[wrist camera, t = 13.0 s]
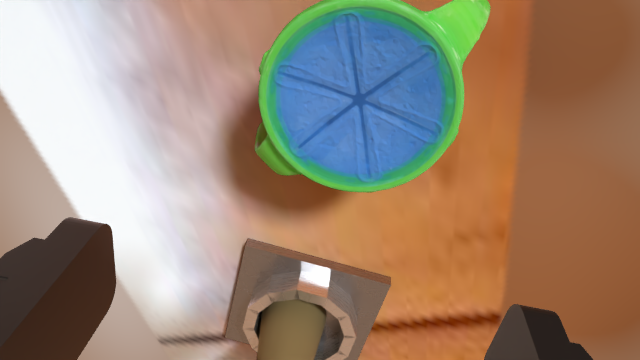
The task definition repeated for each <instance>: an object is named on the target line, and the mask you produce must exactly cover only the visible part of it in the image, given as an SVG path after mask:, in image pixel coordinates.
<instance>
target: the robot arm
mask: <svg viewBox="0 0 640 360" xmlns="http://www.w3.org/2000/svg"><path fill="white" fill-rule="evenodd" d="M115 287H116V275H115V262H114V249H113V237H112V230H111V227H110V226H109V225H107V224H103V223H98V222H92V221H87V220H82V219H77V218H71V217H70V218H67V219H65V220H63V221H62V222H61V223H60V224H59V225H58V226H57V227H56V229H55V230H54V231H53V232H52V233H51V234H50V235H49V236H48V237H47V238H46V239H45V240H43V239H38V238H33V239H31V240H29V241H27V242H25V243H24V244H22V245H20V246H18V247H16V248H14V249H12V250H11V251H9V252H7V253H5V254H4V255H3V256H2V257H1V258H0V360H77V359H78V357H79V355H80V354H81V352H82V351H83V349H84V348H85V346H86V345H87V343H88V341H89V340H90V338H91V337H92V335H93V334H94V332H95V331H96V329H97V327H98V326H99V324H100V323H101V321H102V320H103V318H104V316H105V315H106V313H107V312H108V310H109V308H110V305H111V303H112V300H113V297H114V293H115ZM484 360H593V359H592V358H591V356H590V355H589V354H588V353H587V352H586V351H585V349H584V348H583V347H582V346H581V345H580V344H576V343H571V342H570V341H569V339H568V337H567V334H566V332H565V330H564V327H563V325H562V322H561V320H560V318H559V316H558V315H557V314H556V313H555V312H553V311H549V310H544V309H539V308H533V307H528V306H523V305H518V304H514V305H512V306H511V307H510V308H509V309H508V311H507V313H506V315H505V317H504V319H503V321H502V323H501V325H500V327H499V329H498V331H497V333H496V335H495V337H494V339H493V341H492V343H491V345H490V347H489V349H488V350H487V353H486V355H485V358H484Z"/></svg>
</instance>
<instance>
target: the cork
mask: <svg viewBox="0 0 640 360" xmlns="http://www.w3.org/2000/svg"><path fill="white" fill-rule="evenodd" d="M326 316H327V315H326V312H325V308H323V307H322V306H321V305H317V304H314V303H310V302H306V301H303V300H299V299H293V300H285V301H278V302H273V303H272V304H270V305H269V306H268V307H266V308H265V309H263V310H262V317H261V325H260V334H259V343H258V351H257V360H314V358H315V355H316V352H317V349H318V345H319V342H320V339H321V336H322V333H323V330H324V327H325V323H326Z"/></svg>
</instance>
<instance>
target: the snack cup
mask: <svg viewBox="0 0 640 360" xmlns="http://www.w3.org/2000/svg"><path fill="white" fill-rule="evenodd" d="M490 8H491V7H490V4H489V2H488V1H487V0H453V1H451V2H449V3H447V4H445V5H443V6H441V7H439V8H436V9H434V10H432V11H429V12H425V11H421V10H418V9H417V8H415V7H413V6H411V5H409V4H407V3H405V2H403V1H400V0H323V1H320V2H318V3H316V4H315V5H312V6H310V7H309V8H307V9H306V10H304V11H303V12H301V13H300V14H298V15H297V16H296V17H295V18H294V19H293V20H292V21H290V22H289V23H288V24H287V25H286V26H285V28H284V29H283V30H282V31H281V33H280V34H279V36H278V37H277V38H276V40H275V41H274V43H273V45H272V47H271V48H270V49H269V50H268V51H267V52H266V53H265V54H264V55H263V58H262V61H261V65H260V67H259V72H260V75H261V76H260V81H259V107H260V113H261V117H262V121H263V122H262V123H261V124H260V125H259V127H258V129H257V134H256V141H255V152H256V153H257V154H258V156H259V157H260V158H261V159H262V160H263V161H264V162H265V163H266V164H267V165H268V166H269V167H270V168H271V169H272V170H273V171H274V172H276V173H277V174H280V175H287V176H289V175H297V174H300V175H301V174H303V175H304V176H306V177H307V178H309V179H311V180H313V181H315V182H317V183H319V184H322V185H324V186H327V187H330V188H333V189H337V190H342V191H348V192H375V191H380V190H385V189H390V188H393V187H396V186H399V185H402V184H405V183H407V182H409V181H410V180H412V179H415V178H416V177H418V176H419V175H421V174H422V173H423V172H425V171H426V170H427V169H429V168H430V167H431V166H432V165H433V164H434V163H435V162H436V161H437V160H438V159H439V158H440V157H441V156H442V154H443V153H444V152H445V151H446V149H447V148H448V147H449V146H450V145H451V144H452V142H453V141H454V139H455V137H456V136H457V134H458V127H459V124H460V121H461V118H462V112H463V107H464V83H463V77H462V66H463V63H464V61H465V60H466V57H467V56H468V54H469V52H470V51H471V50H472V48H473V46H474V45H475V43H476V42H477V41H478V40H479V37H480V34H481V32H482V31H483V29H484V27H485V25H486V23H487V20H488V17H489V14H490Z"/></svg>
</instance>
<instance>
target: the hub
mask: <svg viewBox="0 0 640 360" xmlns="http://www.w3.org/2000/svg"><path fill="white" fill-rule="evenodd" d="M390 286H391V277H387V276H384V275H380V274H376V273H373V272H369V271H365V270H362V269H358V268H354V267H351V266H347V265H343V264H340V263H336V262H332V261H329V260H325V259H322V258H318V257H314V256H311V255H307V254H303V253H300V252H296V251H292V250H289V249H285V248H281V247H278V246H274V245H270V244H267V243H263V242H260V241H256V240H252V239H249V238H248V240H247V243H246V245H245V249H244V254H243V258H242V263H241V267H240V272H239V276H238V281H237V285H236V290H235V294H234V299H233V303H232V308H231V312H230V317H229V321H228V326H227V330H226V335H225V338H228V339H232V340H235V341H239V342H243V343H247V344H250V345H251V347H252V349H253V350H254V351H256V352H257V351H258V343H259V334H260V325H261V317H262V310H263V309H265V308H266V307H268V306H269V305H270V304H272V303H273V302H278V301H285V300H293V299H299V300H303V301H306V302H310V303H314V304H317V305H321V306H322V307H323V308H325V312H326V315H327V316H326V323H325V327H324V330H323V333H322V336H321V339H320V342H319V345H318V349H317V352H316V355H315V358H314V360H357V359H358V357H359V355H360V353H361V350H362V348H363V346H364V344H365V341H366V339H367V337H368V335H369V333H370V330H371V328H372V326H373V324H374V321H375V319H376V317H377V315H378V312H379V310H380V308H381V306H382V303H383V301H384V299H385V297H386V295H387V292H388V290H389V288H390Z"/></svg>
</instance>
